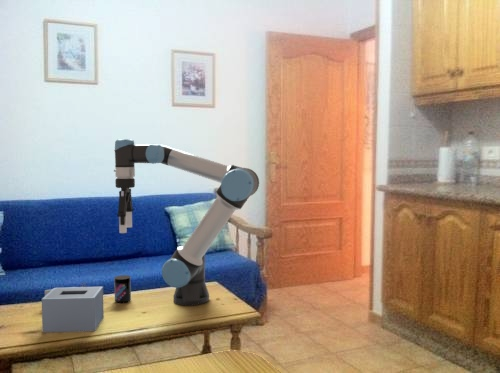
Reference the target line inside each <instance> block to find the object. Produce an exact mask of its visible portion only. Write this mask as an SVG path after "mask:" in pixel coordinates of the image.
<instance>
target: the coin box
mask: <svg viewBox="0 0 500 373" xmlns="http://www.w3.org/2000/svg"><path fill="white" fill-rule="evenodd" d="M50 290H51V289H50ZM104 311H105V310H104V286H85V287H82V286H72V287H71V286H69V287H54V288H52V290H51V291H50V292H49V293H48V294H47V295H46V296H45V295H44V297H42V298H41V322H42V323H41V324H42V325H41V326H42V328H41V329H42V333H70V332H72V333H73V332H95V331H96V330H97V329H98V327H99V325H100V324H101V322H102V320H103V319H104V318H105V317H104V314H105V313H104Z"/></svg>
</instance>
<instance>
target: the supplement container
mask: <svg viewBox="0 0 500 373" xmlns="http://www.w3.org/2000/svg"><path fill="white" fill-rule="evenodd" d="M131 280H132V278H131V275H127V274H123V275H122V274H121V275H116V276H114V278H113V283H114V302H115V303H116V304H127V303H130V302H131V300H132V296H131V295H132V292H131V291H132V287H131V286H132V285H131V284H132V283H131Z"/></svg>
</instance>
